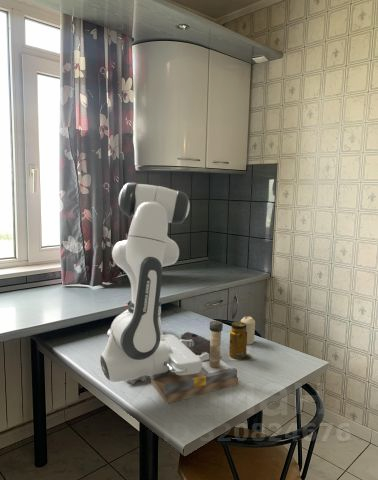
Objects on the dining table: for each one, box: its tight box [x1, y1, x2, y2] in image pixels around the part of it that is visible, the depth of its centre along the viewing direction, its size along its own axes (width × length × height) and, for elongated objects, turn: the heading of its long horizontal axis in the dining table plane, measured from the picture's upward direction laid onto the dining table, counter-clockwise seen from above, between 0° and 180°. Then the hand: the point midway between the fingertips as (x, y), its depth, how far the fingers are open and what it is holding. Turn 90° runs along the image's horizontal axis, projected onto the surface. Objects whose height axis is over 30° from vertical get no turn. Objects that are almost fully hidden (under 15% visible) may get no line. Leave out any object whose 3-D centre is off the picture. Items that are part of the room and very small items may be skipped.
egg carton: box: [126, 375, 149, 384], centre depth 119 cm, size 11×8×4 cm
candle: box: [240, 315, 256, 345], centre depth 146 cm, size 6×6×10 cm
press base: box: [150, 355, 239, 404], centre depth 115 cm, size 24×12×4 cm, turn 117°
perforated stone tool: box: [180, 331, 210, 358], centre depth 133 cm, size 15×5×7 cm, turn 52°
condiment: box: [226, 321, 255, 362], centre depth 133 cm, size 7×8×12 cm
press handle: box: [200, 320, 232, 375], centre depth 117 cm, size 8×7×16 cm
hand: (200, 348), depth 114 cm, fingers open, 8 cm apart
